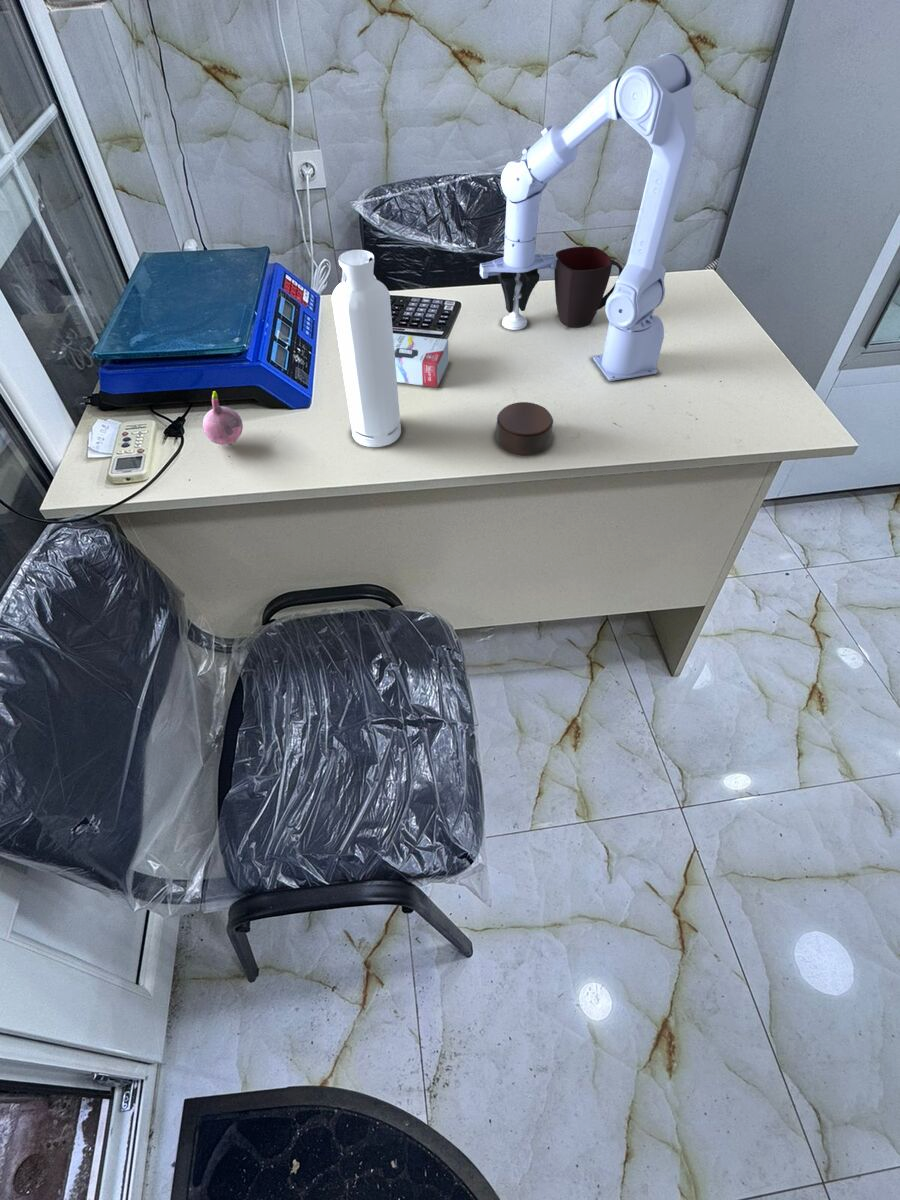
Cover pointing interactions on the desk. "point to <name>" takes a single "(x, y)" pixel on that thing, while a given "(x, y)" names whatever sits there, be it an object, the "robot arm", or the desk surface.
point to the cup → (581, 284)
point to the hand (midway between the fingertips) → (515, 309)
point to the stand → (524, 428)
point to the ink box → (420, 359)
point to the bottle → (367, 350)
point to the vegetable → (222, 424)
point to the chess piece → (515, 310)
